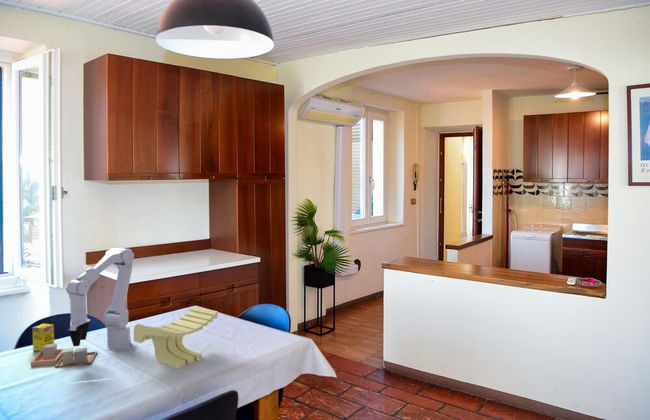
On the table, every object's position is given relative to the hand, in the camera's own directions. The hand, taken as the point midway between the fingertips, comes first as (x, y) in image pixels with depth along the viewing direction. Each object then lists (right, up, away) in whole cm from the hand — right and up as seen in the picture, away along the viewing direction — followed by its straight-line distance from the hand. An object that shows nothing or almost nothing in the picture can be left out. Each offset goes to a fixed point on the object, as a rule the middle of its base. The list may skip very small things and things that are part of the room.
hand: (79, 342), depth 199 cm
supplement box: (-23, -8, +15) cm, 29 cm away
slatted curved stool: (+38, -8, +5) cm, 40 cm away
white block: (-5, -8, 0) cm, 9 cm away
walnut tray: (-2, -8, +2) cm, 9 cm away
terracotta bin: (-14, -8, +3) cm, 17 cm away
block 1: (-15, -8, +5) cm, 17 cm away
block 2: (0, -8, 0) cm, 8 cm away
